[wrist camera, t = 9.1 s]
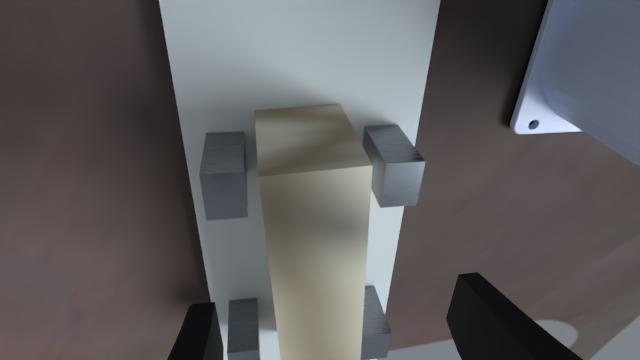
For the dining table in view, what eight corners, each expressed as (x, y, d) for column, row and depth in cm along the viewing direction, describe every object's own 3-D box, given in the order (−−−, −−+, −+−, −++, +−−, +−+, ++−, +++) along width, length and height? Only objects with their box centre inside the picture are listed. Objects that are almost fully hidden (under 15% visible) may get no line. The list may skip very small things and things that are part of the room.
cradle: (434, -33, 15) (491, -19, 12) (371, 353, 28) (389, 414, 25) (158, -38, 14) (129, -23, 10) (225, 371, 27) (223, 439, 23)
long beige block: (340, 103, 17) (372, 165, 12) (338, 322, 24) (357, 405, 20) (254, 110, 16) (258, 176, 12) (279, 331, 24) (287, 418, 20)
